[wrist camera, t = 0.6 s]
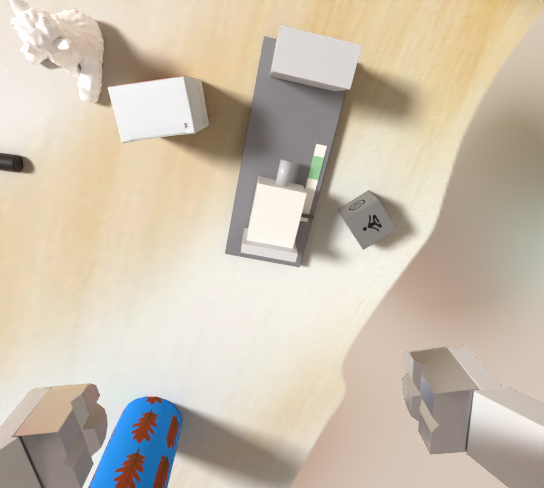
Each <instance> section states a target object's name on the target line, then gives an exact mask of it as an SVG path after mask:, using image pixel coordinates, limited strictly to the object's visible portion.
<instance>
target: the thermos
mask: <svg viewBox="0 0 544 488" xmlns="http://www.w3.org/2000/svg"><path fill="white" fill-rule="evenodd" d="M181 423H182V418H181V414H180V412H179V410H178V409H177V408H176V407H175V405H173V404H172V403H170V402H169V401H167V400H164V399H161V398H158V397H143V398H139V399H136V400H134V401H132V402H131V403H129V404H128V405H127V407H126V408H125V410H124V411H123V413H122V415H121V417H120V419H119V421H118V423H117V425H116V427H115V429H114V431H113V433H112V436H111V438H110V440H109V442H108V445H107V447H106V449H105V451H104V454H103V456H102V458H101V460H100V463H99V465H98V467H97V469H96V472H95V474H94V476H93V478H92V481H91V483H90V485H89V487H88V488H167V486H168V482H169V478H170V474H171V470H172V466H173V461H174V457H175V453H176V449H177V445H178V440H179V434H180V429H181Z"/></svg>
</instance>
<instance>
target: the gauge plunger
mask: <svg viewBox="0 0 544 488" xmlns="http://www.w3.org/2000/svg"><path fill="white" fill-rule="evenodd" d="M292 166H293V162H292V161H290V160H285V159H281V160H280V165H279V169H278V174H277V178H276V180H275V179H270V178H266V177H261V176H258V181H257V186H256V191H255V196H254V201H253V206H252V211H251V216H250V221H249V226H248V228H244V233H243V239H242V247H241V253H247V254H252V255H257V256H263V257H268V258H274V259H279V260H285V261H290V262H296V259H297V255H298V253H297V249H296V244H295V238H296V234H297V230H298V226H299V222H300V218H301V217H303V218H308V219H313V215H310V214H304V213H302V210H303V206H304V202H305V198H306V194H307V193H306V191H305V189H304V187H303V185H300V184H295V183H290V182H289V179H290V174H291V170H292Z"/></svg>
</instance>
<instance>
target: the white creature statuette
mask: <svg viewBox="0 0 544 488" xmlns="http://www.w3.org/2000/svg"><path fill="white" fill-rule="evenodd" d="M10 3H11V6H12V8H13V10H14V12H15V14H16V16H17V17H16V18H12V21H11V24H12V25H13V26H14V28H15V29H16V30H17V31H18V33H19V37H20V38H21V39H22V40H23V42H24V43H25V45H23V46H22V48H21V49H20V50H21V52H22V53H25V54H26V58H27V59H28V60H29V61H30V62H31V63H32V64H34V65H37V64H39V63H40V62H42V61H43V60H45V59H50V60H51V61H52V62H53V63H55V64H56V65H58V66H61V67H62V68H64V69H65V70H66V72H68V73H70V75H74V76H76V77H79V81H78V83H77V85H78V87H79V92H80V97H81V100H83V101H88V102H91V103H97V101H98V99H99V95H100V92H101V91H102V90H101V87H102V82H101V80H102V79H103V78H102V74H103V68H102V63H103V61H104V60H103V52H104V45H103V43H104V40H103V37H102V33H101V31H100V29H99V26H98V24H97V23H96V22H95V21H93V19H92V17H90V16H89V15H86V14H85V13H84V12H80V11H77V10H76V9H75V8H74V9H71V11H70V10H68V9H64V11H61V12H60V13H57V14H55V15H52V16H50V15H49V14H48V13H47V12H45V11H42V10H41V9H37V8H33V7H32V8H30V7H29V6H28V4H27V3H26V2H25V1H24V0H10ZM78 63H79V64H80V65H79V64H78Z"/></svg>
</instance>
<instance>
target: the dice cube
mask: <svg viewBox="0 0 544 488" xmlns="http://www.w3.org/2000/svg"><path fill="white" fill-rule="evenodd" d="M338 211H339V213H340V215H341V216H342V218H343V219H344V221H345V223H346V224H347V226H348V227H349V229H350V230H351V232H352V234H353V235H354V237H355V238H356V240H357V241H358V243H359V244H360V246H361V247H362V249H363V250H364V249H365V248H367V247H369V246H370V245H372V244H374V243H375V242H377V241H379V240H380V239H382V238H384V237H385V236H387V235H389V234H390V233H392V232H394V231H395V230H396V228H395V226H394V225H393V223H392V221H391V219H390V218H389V216H388V214H387V213H386V211H385V209H384V207H383V206H382V204H381V202H380V200H379V199H378V198H377V197H376V196H374V195H373V194H372V193H371V192H370V191H367V192H365V193H363V194H362V195H360V196H359V197H357V198H355V199H354V200H352V201H351V202H349V203H348V204H346V205H344V206H343V207H341V208H340V209H338Z"/></svg>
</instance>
